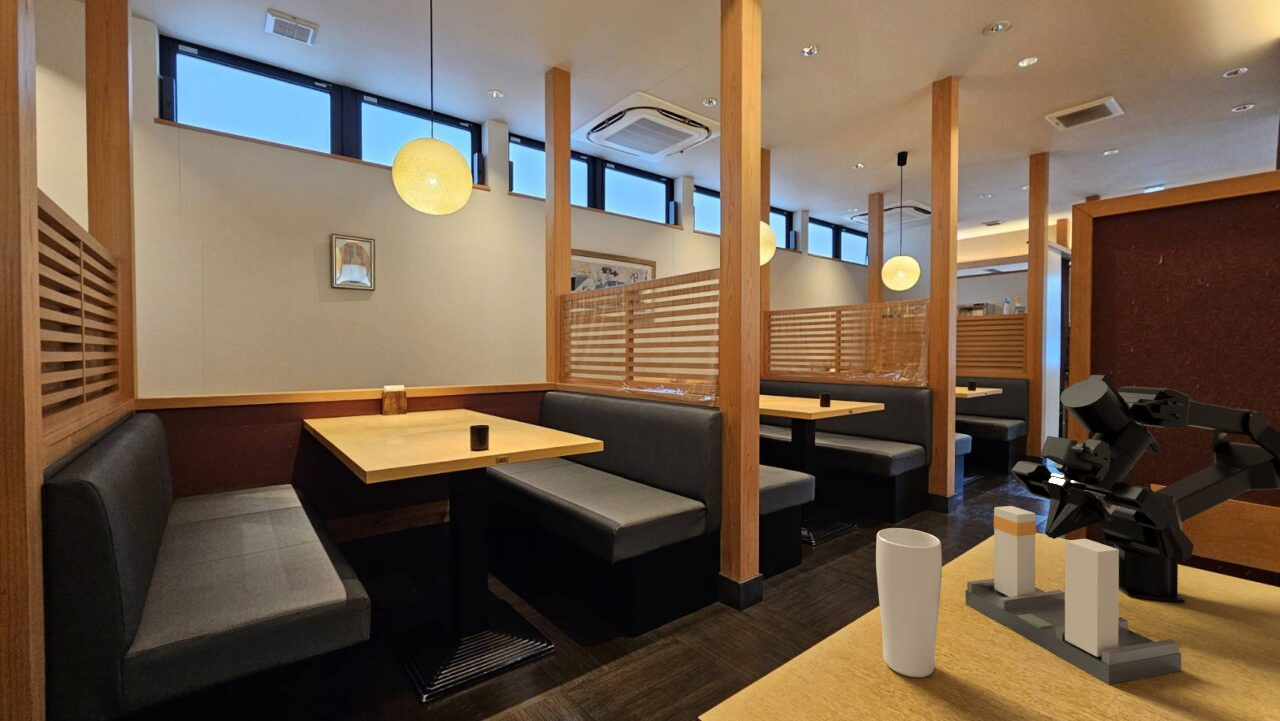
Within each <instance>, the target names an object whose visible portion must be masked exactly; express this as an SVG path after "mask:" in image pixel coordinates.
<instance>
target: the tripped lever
mask: <svg viewBox="0 0 1280 721" xmlns="http://www.w3.org/2000/svg"><path fill="white" fill-rule="evenodd" d="M993 511H994V514H993V532H994V534H993V535H994V536H993V538H994V539H993V540H994V541H993V542H994V543H993V545H994V547H993V554H994V555H993V558H994V559H993V562H994V563H993V565H994V567H993V572H994V573H993V575H994V576H993V579H994V589H995V590H997V591H999V592H1001V593H1003V594H1005V595H1007V596H1009V597H1010V596H1018V595H1025V594H1033V593H1035V587H1036V534H1037V521H1036V513H1035V512H1033V511H1029V510H1026V509H1022V508H1020V507H1016V506H1014V505H1008V506H1007V505H1005V506H995V507H994V510H993Z"/></svg>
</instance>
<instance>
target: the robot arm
mask: <svg viewBox="0 0 1280 721" xmlns="http://www.w3.org/2000/svg"><path fill="white" fill-rule="evenodd" d="M1059 399H1060V402H1061V403H1062V404H1063V406H1064V407H1065V409H1066V410H1067V411H1068V412H1069V413H1070V414H1071V415H1072V417H1073V418H1074V419H1075V420H1076V422H1077V423H1078V424H1079V426H1081V427H1082V429H1083V430H1085V431H1086V432H1088V433H1092V434H1094V435H1093V437H1092V438H1088V439H1087V440H1086V441H1085V442H1084V441H1078V440H1075V439H1070V438H1066V437H1064V438H1063V437H1057V436H1051V435H1047V436H1046V440H1045V442H1044V444H1043V447H1042V449H1041V453H1040V457H1041V458H1043V459H1048V460H1049V461H1051V462H1053V463H1055V464H1056V465H1055V469H1056V470H1057V471H1058V473H1061V474H1062V475H1061V474H1057V473H1053V472H1051V471H1050V470H1049V468H1048V467H1047V466H1046V464H1041V463H1037V462H1032V461H1026V460H1022V461H1021V460H1020V461H1017V463H1016V464H1015V465H1013V468H1012V469H1011V470H1010V473H1011V474H1012V475H1013V476H1014V477H1015V478H1016V479H1017V480H1018V482H1019V483H1020V484H1021V485H1022V486H1023V488H1025V490H1026V491H1027V492H1028V493H1030V494H1031V495H1033V496H1036V497H1037V498H1038V497H1039V498H1043V499H1045V500H1049V509H1048V513H1047V515H1048V516H1047V519H1046V524H1045V530H1044V533H1045V535H1046V536H1047V537H1048V538H1051V539H1054V540H1055V539H1057V538H1060V537H1063V536H1066V535H1067V534H1069V533H1072V532H1075V531H1077V530H1080V529H1082V528H1085V527H1089V526H1091V525H1094V524H1098V526H1099V529H1100V532H1101V536H1102V540H1103V542H1104V543H1106V544H1111V545H1114V548H1116V549H1119V590H1121V591H1122V592H1124V593H1125V594H1126V595H1127V596H1129V597H1132V598H1140V599H1149V600H1156V601H1157V600H1159V601H1167V602H1172V603H1173V602H1175V603H1182V604H1184V603H1185V602H1186V601H1185V600H1186V599H1185V598H1184V597H1183V596H1182V595H1180V594H1179V593H1178V591H1179V588H1178V587H1179V586H1178V584H1179V583H1178V581H1179V563H1180V564H1181V563H1182V564H1183V563H1187V560H1190V559H1192V555H1193V550H1194V546H1195V545H1194V544H1193V542H1192V541H1191V540H1190V538H1189V537H1188V536H1187V535H1186V534H1185V533H1184V531H1183V523H1184V522H1186V521H1187V520H1189V519H1192V518H1193V517H1196V516H1198V515H1199V514H1202V513H1204V512H1206V511H1208V510H1210V509H1212V508H1214V507H1216V506H1218V505H1221V504H1222V503H1224V502H1226V501H1228V500H1231V499H1232V498H1235V497H1236V496H1238V495H1240V494H1243V493H1245V492H1247V491H1254V490H1256V491H1263V490H1267V491H1268V490H1278V489H1280V432H1279V431H1277V430H1276V429H1275V428H1274V427H1272V426H1271V425H1269V423H1268V421H1267V419H1266V417H1265V416H1264V414H1263V413H1261V412H1260V411H1256V410H1253V409H1245V408H1244V409H1243V408H1235V407H1228V406H1222V405H1217V404H1210V403H1205V402H1199V401H1194V400H1192V399H1191V396H1189V395H1188V394H1186V393H1184V392H1181V391H1179V390H1176V389H1173V388H1168V387H1167V388H1166V387H1165V388H1164V387H1163V388H1162V387H1147V386H1129V385H1128V386H1121V387H1119V389H1118V390H1117V389H1116V387H1115V386H1114V385H1113V383H1112V381H1111V379H1110V378H1109V377H1108V375H1106V374H1105V375H1103V374H1091V375H1090V376H1089V378H1088V379H1085V380H1081V381H1079V382H1076V383H1073V384H1072V385H1071V386H1069V387H1066V388H1065V389H1064V390H1063V391H1062V392H1061V394H1060V398H1059ZM1187 426H1188V427H1193V428H1199V429H1200V428H1201V429H1205V430H1211V431H1212V433H1213V438H1212V440H1211V442H1210V445H1209V449H1210V451H1211V453H1212V455H1213V457H1214V464H1212V465H1210V466H1208V467H1205V468H1203V469H1201V470H1199V471H1197V472H1194V473H1192V474H1190V475H1188V476H1186V477H1184V478H1182V479H1179V480H1177V481H1174V482H1173V483H1171V484H1169V485H1167V486H1166V485H1165V487H1162V488H1160V489H1157V490H1155V491H1153V489H1152V488H1151V487H1147V486H1143V485H1139V484H1133V483H1128V482H1133V481H1134V479H1135V478H1136V475H1135V473H1133V471H1132V469H1133V468H1134V466H1136V464H1137V463H1138V461H1139V460H1140V459H1141V457H1142V456H1143V455H1144V453H1145V452H1146V453H1151V454H1159V453H1160V452H1161V448H1160V447H1161V446H1160V444H1159V443H1158V442H1157V436H1156V435H1155V434H1154V433H1151V432H1150V431H1149V429H1148V428H1147V427H1154V428H1162V429H1163V428H1164V429H1175V428H1177V429H1179V428H1185V427H1187ZM1228 434H1230V435H1237V436H1238V435H1239V436H1248V437H1249V438H1250V440H1251V441H1252V442H1254V444H1250V443H1241V442H1235V441H1232V442H1231V441H1230V439H1229V437H1228ZM1125 481H1128V482H1125Z"/></svg>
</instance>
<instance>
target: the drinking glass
mask: <svg viewBox="0 0 1280 721" xmlns="http://www.w3.org/2000/svg"><path fill="white" fill-rule="evenodd" d="M942 562H943V560H942V543H941V540H940V539H939V538H938V537H936V536H934V535H933V534H931V533H927V532H924V531H920V530H916V529H911V528H900V527H898V528H897V527H890V528H885V529H884V528H883V529H881V530H879V531H878V532H877V534H876V546H875V566H876V567H875V568H876V569H875V570H876V571H875V572H876V581H877V583H876V584H877V591H878V592H877V593H878V604H879V613H880V624H881V636H882V658H883V661H884V662H885V664H886V666H888V667H889V668H890V669H892V670H893V671H895V672H896V673H898V674H900V675H903V676H907V677H910V678H924V677H925V678H926V677H927V676H930V675H931V674H932V673H933V672H934V670H935V668H936V667H935V665H936V662H935V659H936V658H935V655H936V654H935V652H936V641H937V630H938V620H939V609H940V602H941V601H940V600H941V599H940V598H941V588H942V578H943V576H942V575H943V563H942Z"/></svg>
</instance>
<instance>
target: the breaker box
mask: <svg viewBox="0 0 1280 721" xmlns="http://www.w3.org/2000/svg"><path fill="white" fill-rule="evenodd" d="M966 583H967V586H966V587H967V589H965V605H967V606H969V607H970V608H972V609H974V610H976V611H978V612H979V613H981V614H983V615H985V616H987V617H988V618H990V619H992V620H994V621H996V622H997V623H998V624H1001V625H1002V626H1004V627H1006V628H1008V629H1009V630H1012V631H1013V632H1015V633H1017V634H1019V635H1021V636H1022V637H1024V638H1025V639H1028V640H1029V641H1030V642H1033V643H1034V644H1036V645H1038V646H1040V647H1042V648H1043V649H1045V650H1047V651H1048V652H1050V653H1053V654H1054V655H1056V656H1057V657H1059V658H1061V659H1063V660H1064V661H1067V662H1068V663H1070V664H1072V665H1074V666H1075V667H1077V668H1078V669H1080V670H1082V671H1084V672H1086V673H1088V674H1089V675H1092V676H1093V677H1094V678H1097V679H1098V680H1100V681H1102V682H1103V683H1105V684H1107V685H1112V684H1113V685H1114V684H1119V683H1124V682H1131V681H1135V680H1141V679H1145V678H1150V677H1157V676H1162V675H1167V674H1173V673H1178V672H1182V653H1181V652H1180V642H1178V641H1176V640H1173V639H1171V638H1169V639H1164V640H1163V639H1162V640H1157V641H1155V640H1153V639H1151V638H1148V637H1146V636H1143V635H1141V634H1139V633H1137V632H1136V631H1135V632H1134V631H1132V630H1130V629H1129V620H1128V619H1126V618H1124V617H1119V616H1118V648H1114V649H1108V650H1102V656H1099V657H1097V656H1095V655H1093V654H1091V653H1089V652H1087V651H1085V650H1083V649H1081V648H1079V647H1078V646H1076V645H1074V644H1072V643H1070V642H1068V641H1066V640H1065V591H1063V590H1060V589H1057V590H1056V589H1055V590H1050V591H1049V590H1048V591H1045V590H1044V589H1043V590H1042V589H1041V588H1038V587H1037V586H1035V593H1033V594H1025V595H1018V596H1010V597H1009V596H1007V595H1005V594H1003V593H1001V592H999V591H997V590H995V589H994V578H989V579H987V578H985V579H980V580H979V579H978V580H972V581H967V582H966Z"/></svg>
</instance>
